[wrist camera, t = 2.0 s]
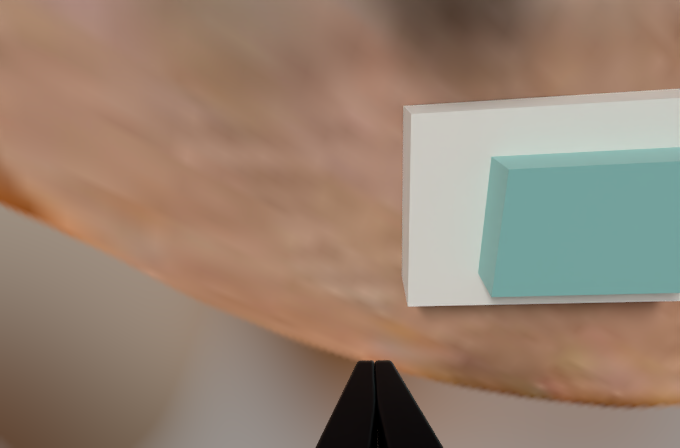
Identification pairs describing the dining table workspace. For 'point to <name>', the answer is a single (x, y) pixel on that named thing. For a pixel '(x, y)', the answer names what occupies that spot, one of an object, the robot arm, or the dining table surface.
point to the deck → (474, 167)
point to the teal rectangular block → (582, 224)
